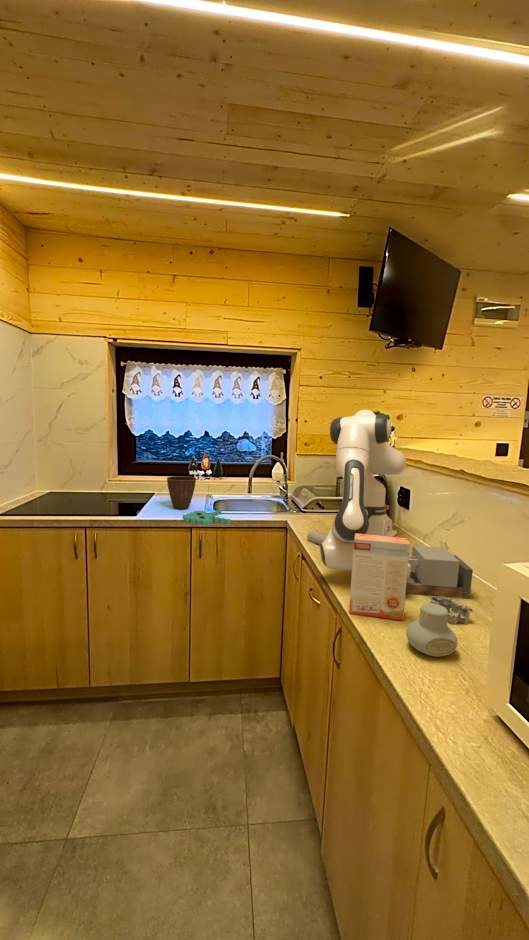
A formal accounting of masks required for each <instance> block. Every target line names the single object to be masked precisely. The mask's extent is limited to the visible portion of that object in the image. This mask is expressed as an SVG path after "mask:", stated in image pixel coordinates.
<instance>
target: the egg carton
mask: <svg viewBox="0 0 529 940" xmlns="http://www.w3.org/2000/svg"><path fill="white" fill-rule="evenodd" d="M428 598H429V600H430V602H429V603H434V604H438V605H441V606H443V607H445V608H446V609H447V610H448V621H447V623H450V624H452V625H457V624H458V623H459V622H460V623H463V624H468V623H469V620H470V614H471V613H473V608H471V607H469V606H468V605H463V604H460V603H459V602H456V601H454V600H452V599H451V597H446V598H445V596H431V595H428ZM450 610H451V611H450ZM455 613H456V614H457V615H455Z"/></svg>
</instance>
